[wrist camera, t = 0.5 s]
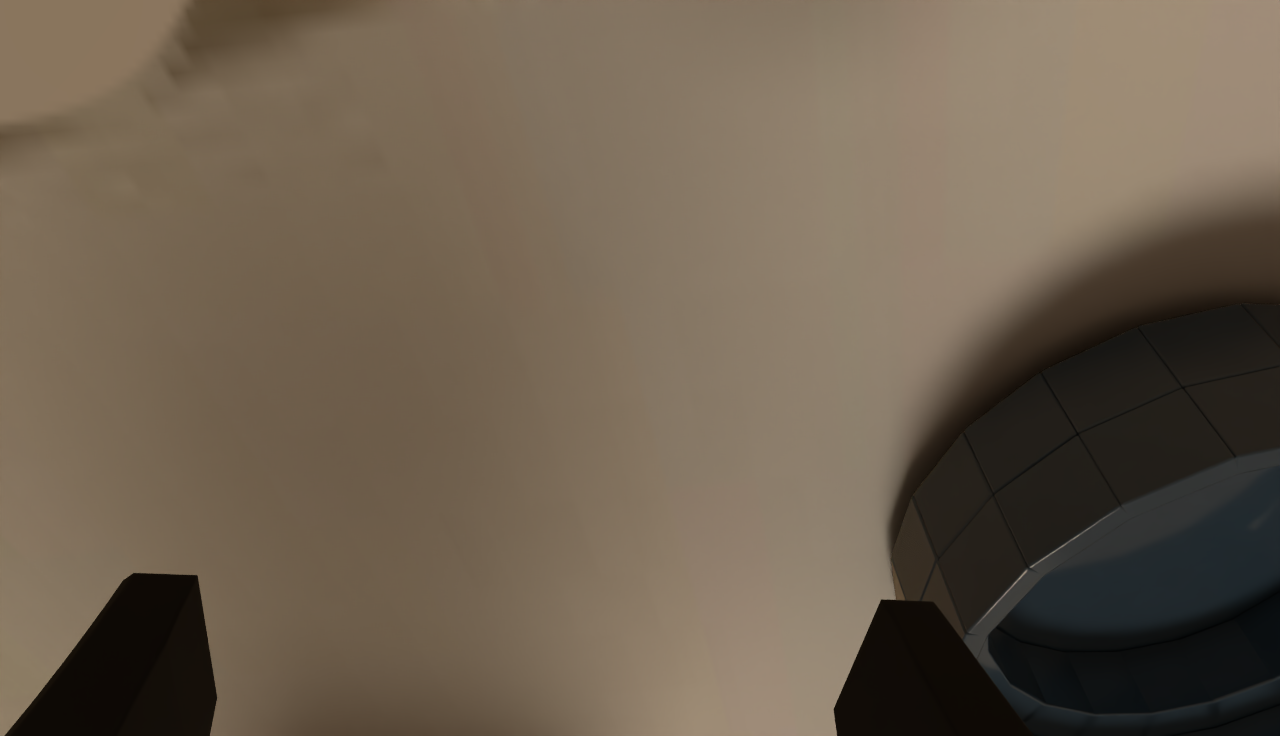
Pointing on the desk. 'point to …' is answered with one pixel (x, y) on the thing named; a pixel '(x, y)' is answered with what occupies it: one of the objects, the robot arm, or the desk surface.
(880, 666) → the robot arm
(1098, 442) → the bowl
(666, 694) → the desk surface
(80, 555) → the desk surface
